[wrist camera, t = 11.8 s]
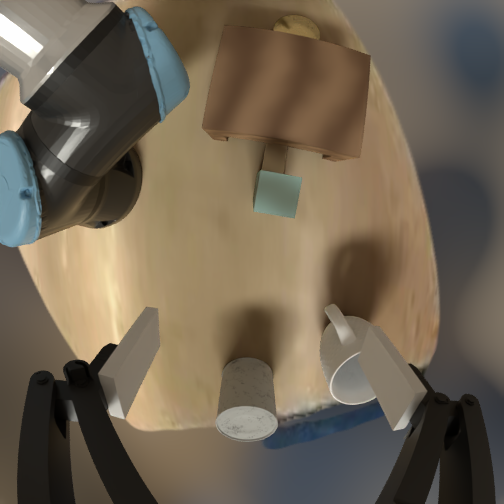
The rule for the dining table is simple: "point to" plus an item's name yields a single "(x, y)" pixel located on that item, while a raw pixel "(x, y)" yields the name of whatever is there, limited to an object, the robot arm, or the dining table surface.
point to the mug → (345, 357)
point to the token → (297, 26)
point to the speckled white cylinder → (247, 401)
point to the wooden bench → (288, 92)
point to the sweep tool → (276, 184)
